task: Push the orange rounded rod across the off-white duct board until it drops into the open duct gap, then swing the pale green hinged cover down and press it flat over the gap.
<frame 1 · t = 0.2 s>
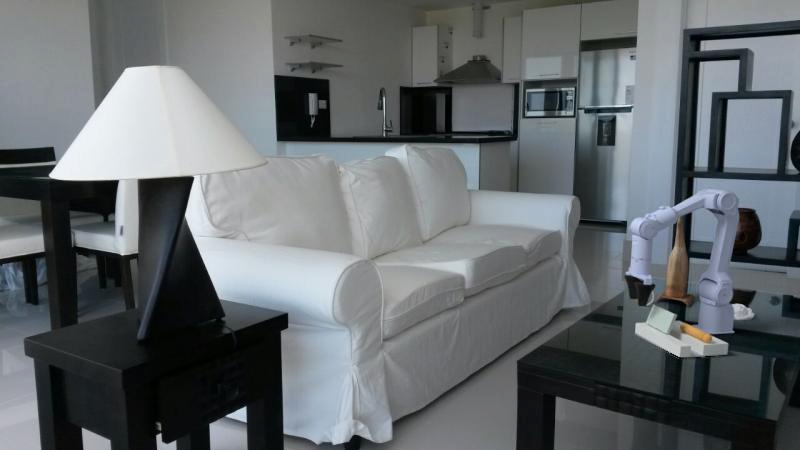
hand: (637, 302, 192), 10 cm above the table, fingers open, 7 cm apart
orange rounded rod: (695, 332, 181), point 5 cm above the table, touching duct board
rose: (737, 317, 215), on the table
duct board: (678, 344, 185), on the table
cover: (661, 319, 187), point 7 cm above the table, hinge at 70.0°
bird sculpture: (675, 302, 231), on the table
ring: (643, 306, 225), on the table
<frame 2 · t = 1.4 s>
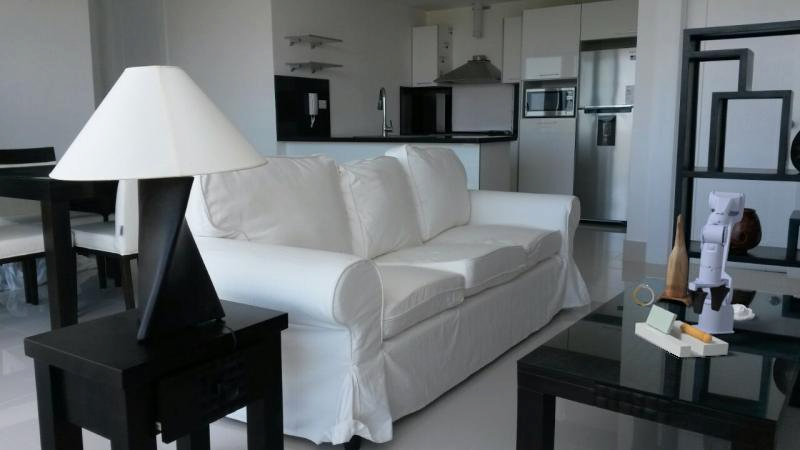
hand: (706, 312, 185), 9 cm above the table, fingers open, 7 cm apart
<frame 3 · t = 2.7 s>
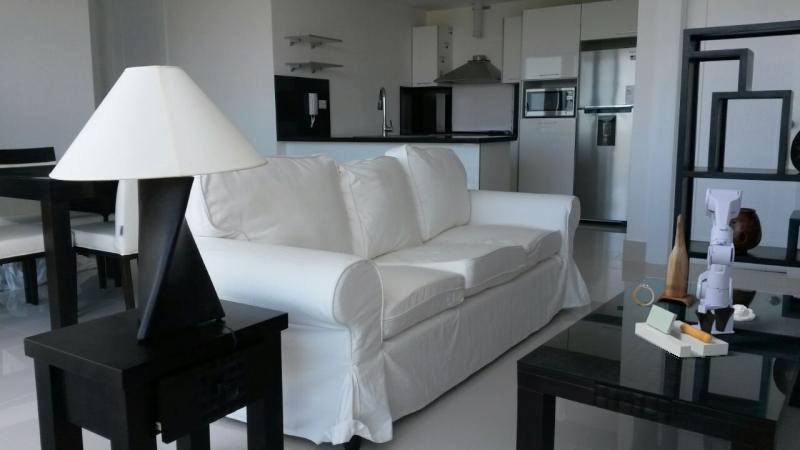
hand: (712, 333, 182), 4 cm above the table, fingers open, 7 cm apart
orange rounded rod: (695, 332, 181), point 5 cm above the table, touching duct board, gripper
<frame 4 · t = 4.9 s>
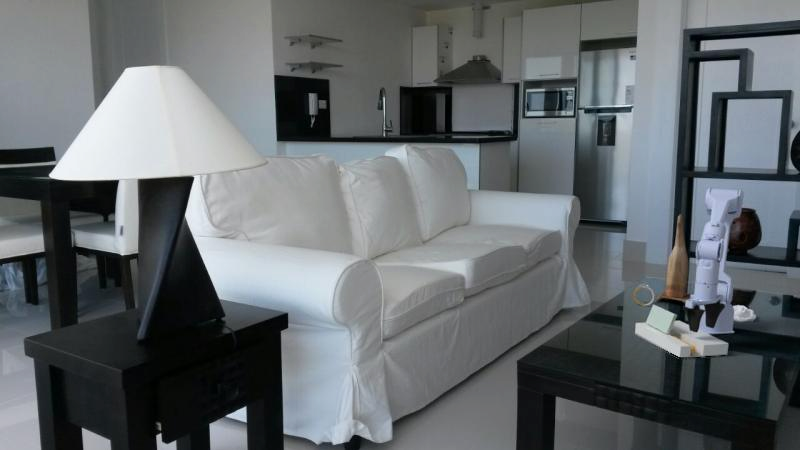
hand: (701, 329, 181), 6 cm above the table, fingers open, 7 cm apart
orange rounded rod: (679, 343, 180), point 2 cm above the table, tilted 119°, touching duct board
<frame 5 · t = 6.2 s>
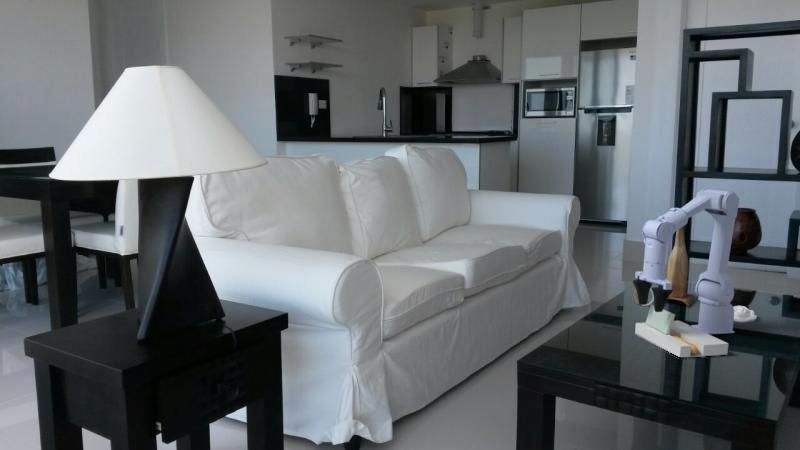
hand: (650, 307, 186), 10 cm above the table, fingers open, 7 cm apart
orange rounded rod: (681, 343, 180), point 2 cm above the table, tilted 152°, touching duct board
cover: (660, 319, 187), point 7 cm above the table, hinge at 76.6°
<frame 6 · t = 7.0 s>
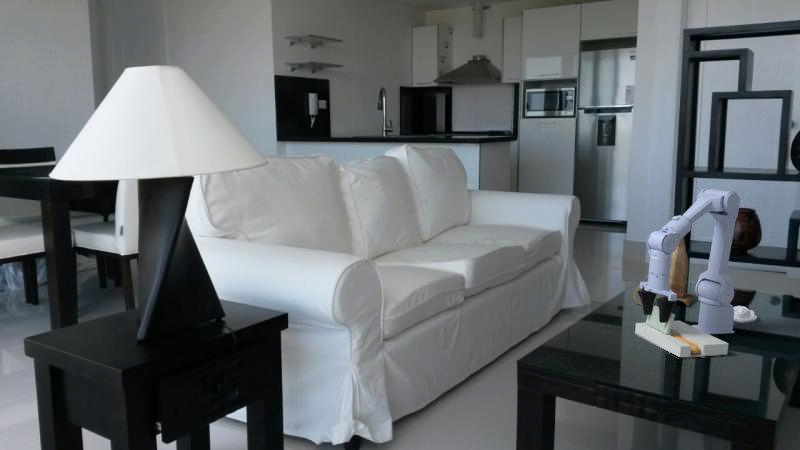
hand: (655, 318, 187), 7 cm above the table
orange rounded rod: (683, 343, 181), point 2 cm above the table, tilted 172°, touching duct board
cover: (659, 319, 187), point 7 cm above the table, hinge at 76.9°, touching gripper
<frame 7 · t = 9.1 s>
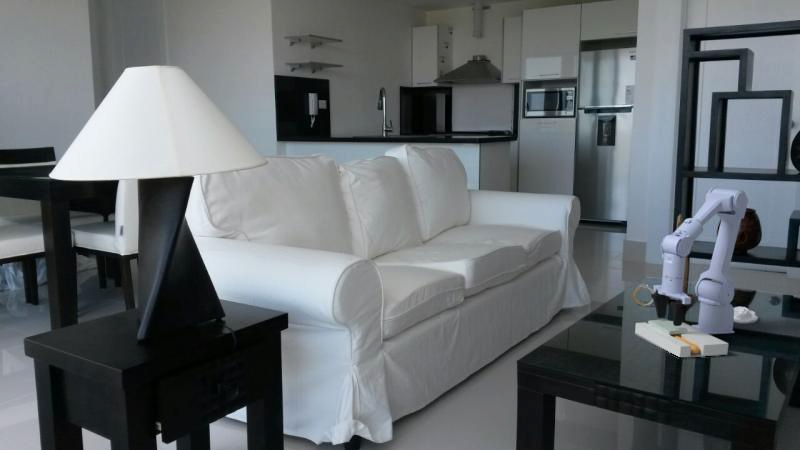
hand: (669, 321, 188), 6 cm above the table, fingers open, 7 cm apart
cover: (667, 326, 188), point 4 cm above the table, hinge at 1.8°
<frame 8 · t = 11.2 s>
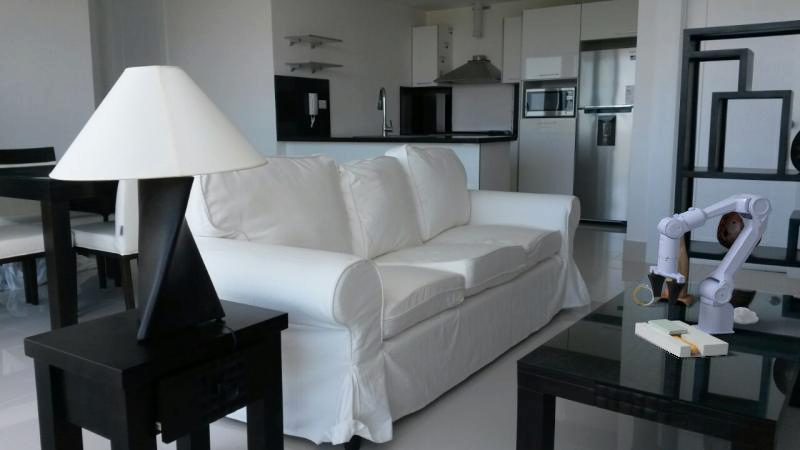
hand: (664, 300, 197), 9 cm above the table, fingers open, 7 cm apart
orange rounded rod: (681, 343, 180), point 2 cm above the table, tilted 151°, touching duct board
at the end: orange rounded rod inside the target area on the duct board (4.0 cm from its centre), point 1.7 cm above the duct board's base; cover at +2° (first picture: +70°) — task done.
